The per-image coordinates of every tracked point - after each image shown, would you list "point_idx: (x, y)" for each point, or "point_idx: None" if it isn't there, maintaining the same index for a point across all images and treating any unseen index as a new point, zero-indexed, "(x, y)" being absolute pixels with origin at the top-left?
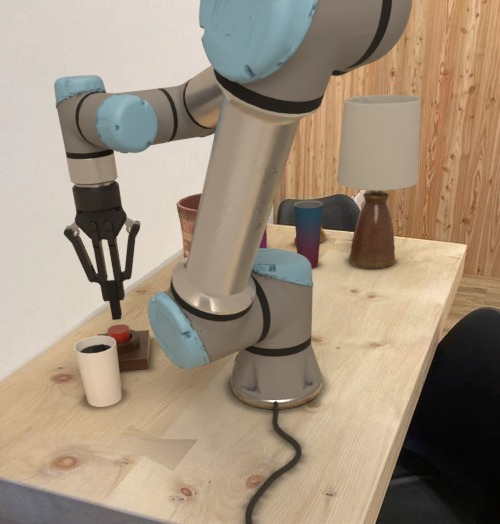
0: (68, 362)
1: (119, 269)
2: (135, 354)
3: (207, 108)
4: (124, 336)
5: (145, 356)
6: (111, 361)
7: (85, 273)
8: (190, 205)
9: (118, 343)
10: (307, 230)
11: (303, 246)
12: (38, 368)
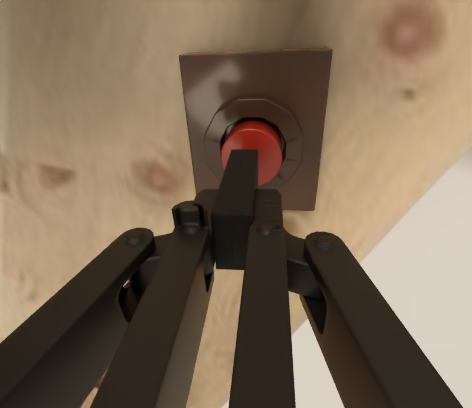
0: (386, 122)
1: (156, 266)
2: (211, 83)
3: None
4: (234, 130)
5: (183, 66)
6: None
7: (363, 270)
8: None
9: (252, 110)
10: None
11: None
12: (467, 101)
